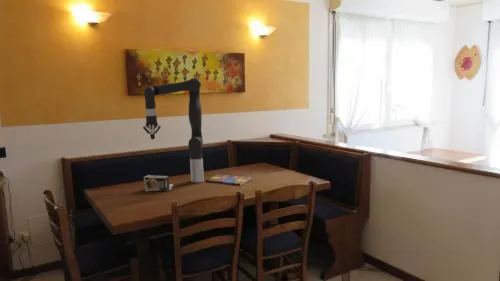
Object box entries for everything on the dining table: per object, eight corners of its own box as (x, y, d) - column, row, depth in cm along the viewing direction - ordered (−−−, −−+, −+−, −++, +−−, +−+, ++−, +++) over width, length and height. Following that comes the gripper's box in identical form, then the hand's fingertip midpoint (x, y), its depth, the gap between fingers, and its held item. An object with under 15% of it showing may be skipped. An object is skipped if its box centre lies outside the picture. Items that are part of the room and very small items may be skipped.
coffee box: (143, 177, 266) (164, 178, 261) (148, 174, 272) (169, 175, 267) (144, 190, 268) (165, 191, 263) (149, 187, 274) (169, 188, 269)
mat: (173, 184, 281) (173, 184, 281) (170, 189, 268) (170, 189, 268) (149, 186, 280) (148, 185, 279) (145, 190, 267) (145, 190, 267)
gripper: (161, 114, 281) (162, 138, 284) (142, 114, 280) (144, 138, 283) (159, 115, 274) (161, 139, 276) (140, 115, 273) (142, 140, 275)
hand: (152, 139), depth 279 cm, fingers closed
